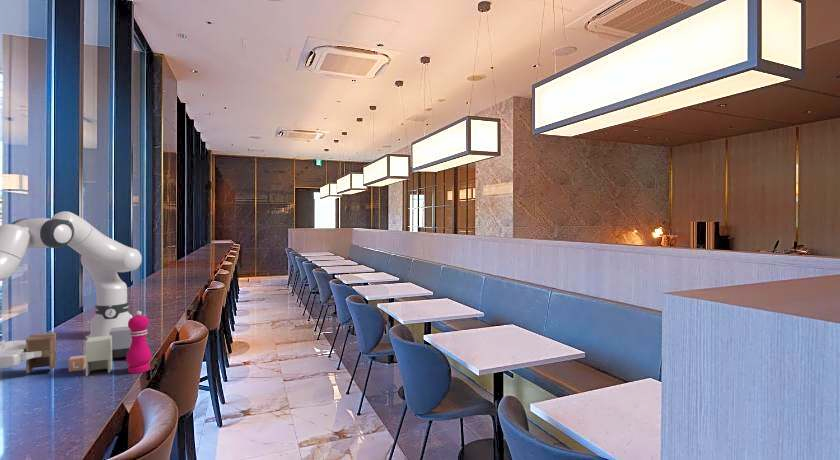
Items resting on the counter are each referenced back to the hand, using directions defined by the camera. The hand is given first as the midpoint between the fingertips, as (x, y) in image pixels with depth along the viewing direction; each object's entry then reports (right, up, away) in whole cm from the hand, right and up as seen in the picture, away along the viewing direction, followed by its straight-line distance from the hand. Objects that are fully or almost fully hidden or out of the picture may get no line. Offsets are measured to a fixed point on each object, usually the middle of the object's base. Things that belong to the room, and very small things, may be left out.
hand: (45, 350), depth 149 cm
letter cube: (+8, -7, +3) cm, 11 cm away
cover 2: (+16, -7, +14) cm, 22 cm away
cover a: (-1, -6, 0) cm, 6 cm away
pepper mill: (+30, -7, +2) cm, 31 cm away
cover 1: (+18, -7, +1) cm, 19 cm away
